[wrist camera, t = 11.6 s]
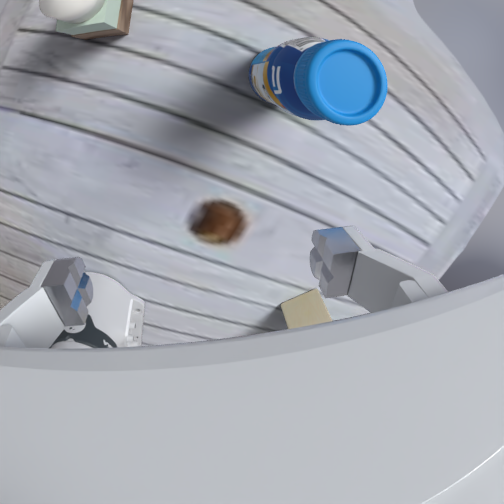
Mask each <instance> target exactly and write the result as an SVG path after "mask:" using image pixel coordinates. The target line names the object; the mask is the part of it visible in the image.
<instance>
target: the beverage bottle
mask: <svg viewBox="0 0 504 504" xmlns="http://www.w3.org/2000/svg"><path fill="white" fill-rule="evenodd" d="M249 81H250V85H251V87H252V89H253V91H254V92H255V93H256V94H257V96H259V97H260V98H261V99H262V100H264V101H266V102H268V103H271V104H274V105H276V106H278V107H279V108H280V109H282V110H283V111H285V112H287V113H289V114H292V115H295V116H298V117H301V118H304V119H308V120H327V121H330V122H332V123H335V124H340V125H357V124H361V123H364V122H366V121H368V120H369V119H371V118H372V117H373V116H375V115H376V114H377V113H378V111H379V110H380V109H381V107H382V105H383V103H384V101H385V98H386V94H387V77H386V73H385V70H384V67H383V65H382V63H381V62H380V60H379V59H378V57H377V56H376V55H375V54H374V53H373V52H372V51H371V50H370V49H368V48H367V47H366V46H364V45H362V44H360V43H357V42H354V41H350V40H345V39H344V40H342V39H339V40H338V39H337V40H330V41H329V40H326V39H323V38H318V37H306V38H301V39H293V40H289V41H286V42H284V43H282V44H280V45H279V46H278V47H272V48H269V49H266V50H264V51H262V52H261V53H259V54H258V55H257V56H256V57H255V58H254V60H253V61H252V63H251V66H250V69H249Z"/></svg>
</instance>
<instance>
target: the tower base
mask: <svg viewBox="0 0 504 504" xmlns="http://www.w3.org/2000/svg"><path fill="white" fill-rule="evenodd" d="M132 6H133V0H121V5H120V11H119V17H118V24H117V29H110V30H102V31H95V32H88V33H82V34H77V35H72V36H71V37H76V38H81V39H85V40H87V39H93V38H100V37H108V36H116V35H127V34H128V33H129V26H130V19H131V12H132Z"/></svg>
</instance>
